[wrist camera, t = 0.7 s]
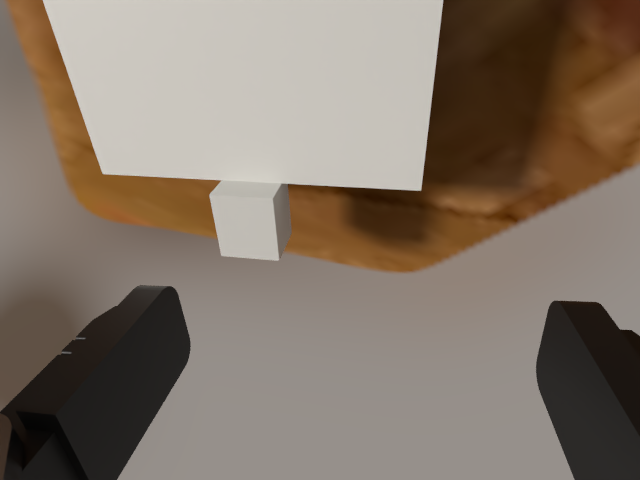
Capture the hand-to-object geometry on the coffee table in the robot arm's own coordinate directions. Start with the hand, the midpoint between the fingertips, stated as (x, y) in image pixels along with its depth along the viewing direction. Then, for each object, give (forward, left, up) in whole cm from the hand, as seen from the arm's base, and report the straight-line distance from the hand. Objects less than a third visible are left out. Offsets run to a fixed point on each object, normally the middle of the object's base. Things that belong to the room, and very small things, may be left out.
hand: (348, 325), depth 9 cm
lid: (-1, -7, -16) cm, 17 cm away
